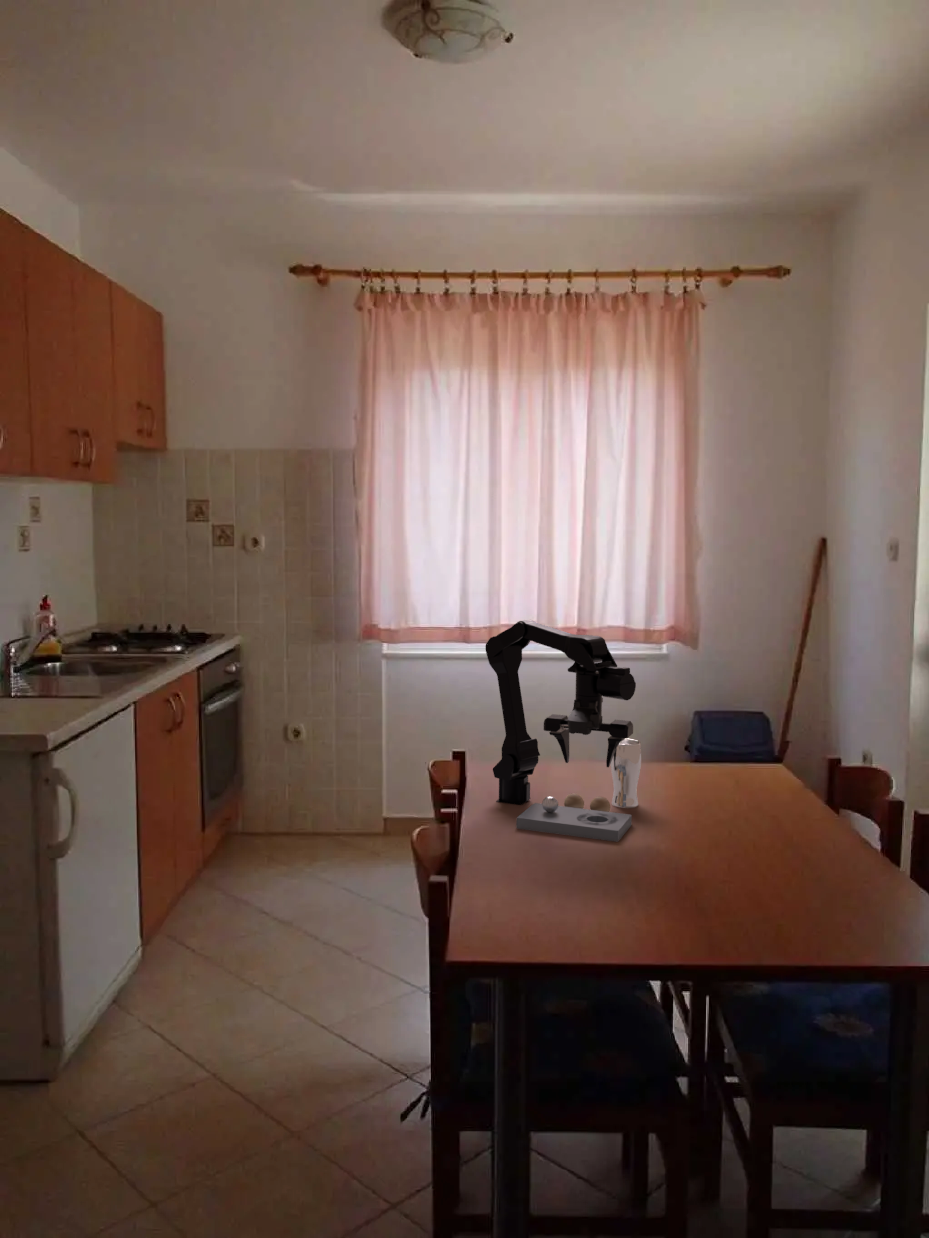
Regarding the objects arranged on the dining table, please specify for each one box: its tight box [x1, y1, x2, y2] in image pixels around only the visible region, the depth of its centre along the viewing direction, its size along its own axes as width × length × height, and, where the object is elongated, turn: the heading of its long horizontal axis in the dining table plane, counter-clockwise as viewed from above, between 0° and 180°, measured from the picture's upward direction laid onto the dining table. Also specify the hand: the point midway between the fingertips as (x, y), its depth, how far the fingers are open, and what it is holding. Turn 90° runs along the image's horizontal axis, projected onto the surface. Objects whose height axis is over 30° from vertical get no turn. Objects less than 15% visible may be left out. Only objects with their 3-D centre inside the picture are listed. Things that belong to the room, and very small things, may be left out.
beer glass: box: [610, 738, 642, 809], centre depth 216 cm, size 7×7×15 cm
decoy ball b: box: [589, 795, 611, 812], centre depth 208 cm, size 4×4×4 cm
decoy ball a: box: [563, 792, 585, 809], centre depth 210 cm, size 4×4×4 cm
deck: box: [515, 802, 633, 843], centre depth 200 cm, size 22×12×2 cm, turn 67°
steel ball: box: [541, 795, 559, 813], centre depth 203 cm, size 4×4×4 cm
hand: (587, 764), depth 204 cm, fingers open, 9 cm apart
